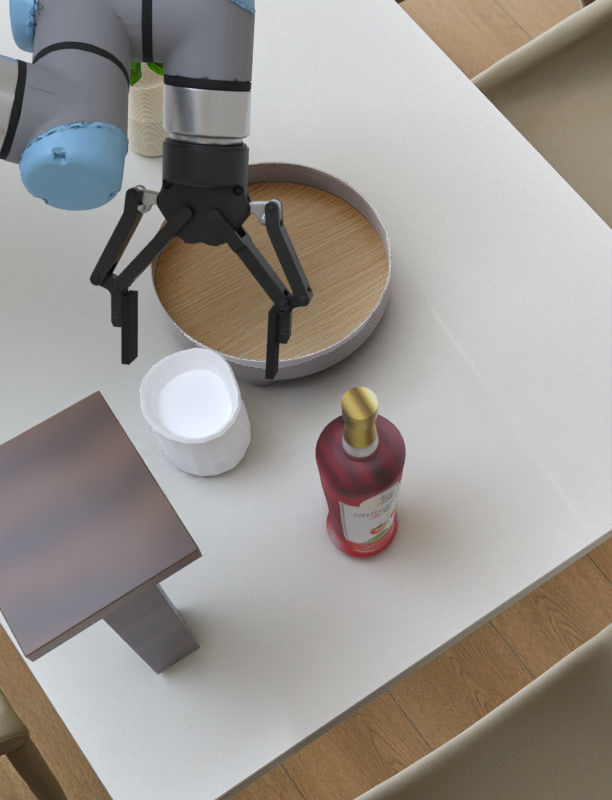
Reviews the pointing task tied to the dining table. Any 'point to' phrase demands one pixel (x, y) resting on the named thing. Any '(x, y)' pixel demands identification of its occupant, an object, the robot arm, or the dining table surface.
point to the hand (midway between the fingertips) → (200, 368)
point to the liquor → (361, 475)
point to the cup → (196, 411)
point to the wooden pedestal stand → (88, 538)
